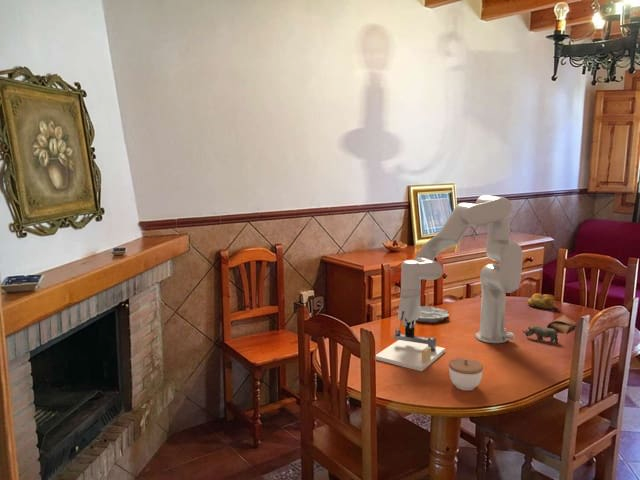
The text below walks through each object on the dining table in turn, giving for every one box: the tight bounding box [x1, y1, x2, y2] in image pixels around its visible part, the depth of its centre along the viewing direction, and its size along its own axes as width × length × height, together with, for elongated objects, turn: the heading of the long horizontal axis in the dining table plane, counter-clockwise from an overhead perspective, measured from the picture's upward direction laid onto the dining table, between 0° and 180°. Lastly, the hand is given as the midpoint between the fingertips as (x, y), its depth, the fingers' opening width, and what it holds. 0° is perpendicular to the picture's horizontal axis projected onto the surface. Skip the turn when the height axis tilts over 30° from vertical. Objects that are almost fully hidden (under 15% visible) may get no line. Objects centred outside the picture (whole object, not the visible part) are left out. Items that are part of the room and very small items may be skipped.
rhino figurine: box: [522, 325, 559, 345], centre depth 208 cm, size 4×14×6 cm, turn 55°
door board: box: [376, 340, 446, 372], centre depth 192 cm, size 19×22×6 cm
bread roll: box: [527, 292, 556, 310], centre depth 254 cm, size 13×10×8 cm
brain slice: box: [416, 305, 450, 324], centre depth 238 cm, size 20×17×3 cm
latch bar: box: [394, 328, 437, 351], centre depth 196 cm, size 16×3×6 cm, turn 66°
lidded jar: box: [448, 357, 484, 392], centre depth 166 cm, size 11×11×9 cm
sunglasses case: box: [546, 314, 577, 335], centre depth 224 cm, size 18×7×7 cm, turn 137°
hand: (409, 336), depth 200 cm, fingers closed
